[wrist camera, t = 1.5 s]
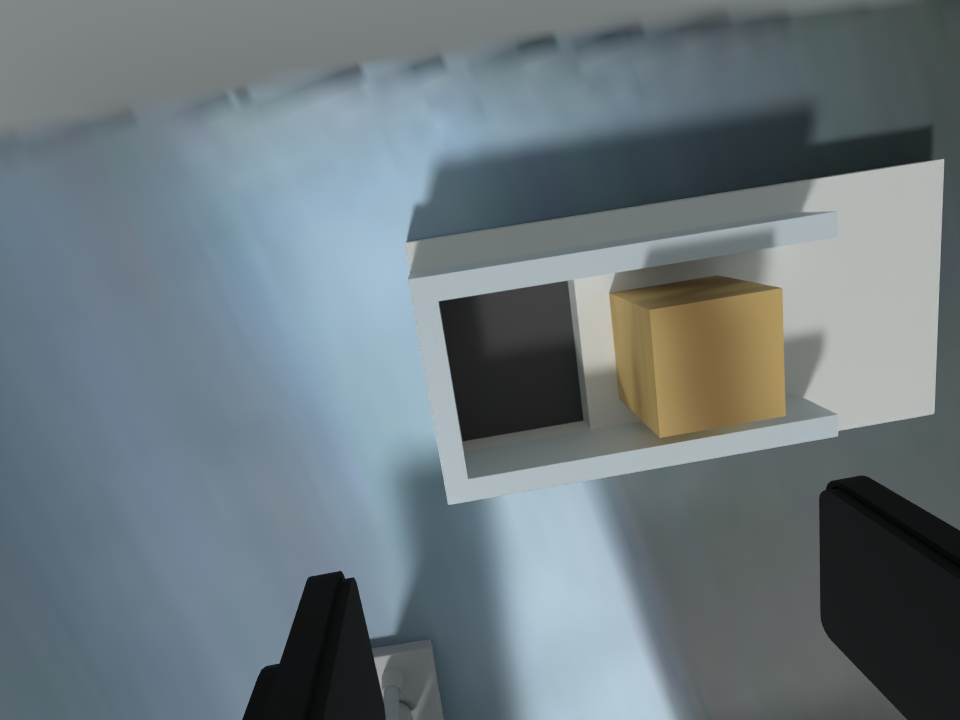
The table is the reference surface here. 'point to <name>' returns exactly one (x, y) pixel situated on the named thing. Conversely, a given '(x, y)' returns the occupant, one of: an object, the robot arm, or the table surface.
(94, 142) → the table surface
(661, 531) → the table surface
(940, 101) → the table surface
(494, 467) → the channel
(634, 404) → the block
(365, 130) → the table surface
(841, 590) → the robot arm
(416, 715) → the test tube rack
